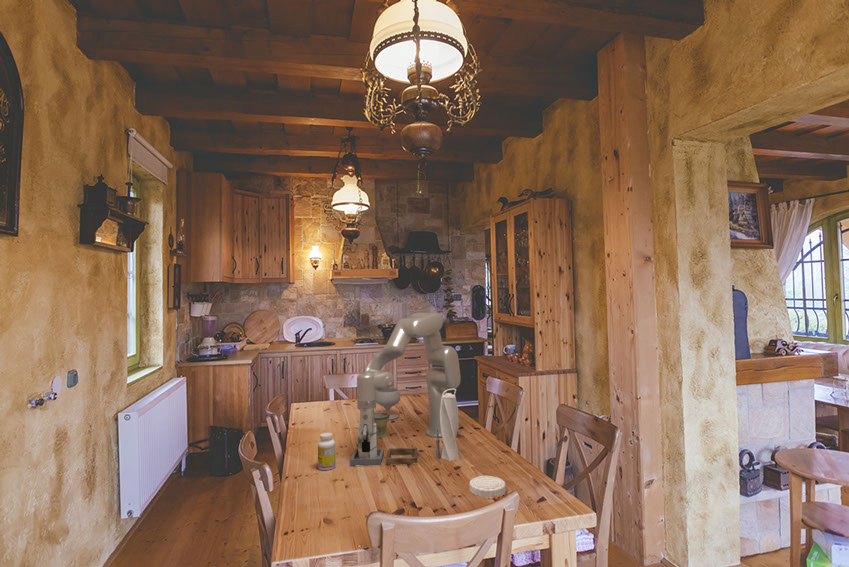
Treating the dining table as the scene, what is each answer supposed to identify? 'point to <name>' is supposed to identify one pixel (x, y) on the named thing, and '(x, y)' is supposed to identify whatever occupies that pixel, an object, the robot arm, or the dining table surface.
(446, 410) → the skyscraper
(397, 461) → the walnut frame
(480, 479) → the mooncake
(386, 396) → the chalice
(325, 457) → the supplement bottle
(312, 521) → the dining table surface
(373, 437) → the syrup box
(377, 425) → the ceramic cup
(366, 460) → the grey frame
